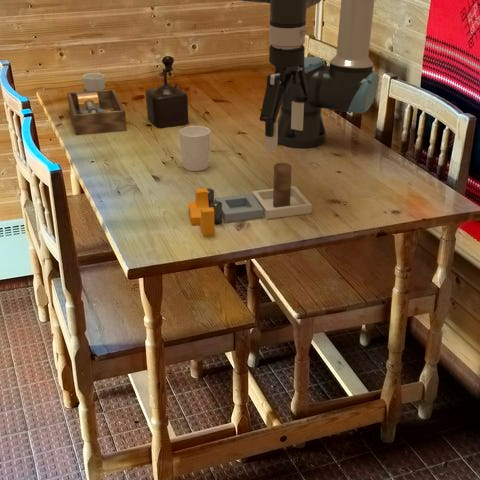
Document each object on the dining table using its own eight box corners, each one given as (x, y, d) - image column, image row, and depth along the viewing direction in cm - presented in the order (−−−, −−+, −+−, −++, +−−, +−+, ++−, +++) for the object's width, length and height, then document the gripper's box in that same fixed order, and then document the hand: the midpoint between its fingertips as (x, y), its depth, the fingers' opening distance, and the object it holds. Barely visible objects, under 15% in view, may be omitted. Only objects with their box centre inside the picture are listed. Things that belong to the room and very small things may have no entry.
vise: (71, 112, 232) (68, 92, 229) (103, 109, 235) (101, 89, 232) (79, 131, 217) (76, 109, 214) (113, 127, 220) (111, 106, 217)
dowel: (292, 203, 172) (294, 164, 167) (285, 210, 169) (286, 170, 164) (277, 200, 174) (278, 161, 169) (270, 206, 171) (271, 167, 166)
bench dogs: (212, 207, 172) (212, 187, 169) (223, 225, 164) (223, 205, 161) (201, 208, 171) (201, 189, 169) (212, 226, 163) (211, 206, 161)
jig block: (251, 203, 174) (251, 193, 173) (262, 219, 166) (263, 209, 165) (214, 207, 172) (214, 197, 170) (225, 224, 164) (225, 214, 163)
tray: (294, 195, 178) (295, 186, 176) (311, 215, 168) (311, 205, 167) (251, 201, 175) (252, 191, 174) (266, 221, 166) (266, 210, 164)
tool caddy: (115, 107, 237) (114, 89, 234) (126, 130, 217) (125, 111, 215) (69, 111, 233) (67, 92, 230) (75, 135, 214) (73, 115, 211)
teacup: (107, 93, 250) (106, 78, 247) (85, 95, 248) (83, 79, 245) (103, 85, 258) (102, 70, 255) (81, 87, 256) (80, 72, 253)
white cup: (184, 173, 189) (183, 137, 184) (178, 162, 196) (177, 127, 191) (213, 170, 191) (213, 134, 186) (206, 159, 198) (206, 124, 193)
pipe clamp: (188, 214, 169) (187, 189, 166) (207, 213, 169) (206, 188, 166) (194, 239, 158) (194, 212, 155) (214, 237, 159) (214, 211, 156)
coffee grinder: (191, 124, 223) (189, 65, 214) (157, 128, 219) (154, 69, 210) (174, 109, 235) (172, 53, 227) (141, 113, 231) (138, 57, 223)
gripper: (277, 61, 142) (275, 161, 153) (326, 33, 161) (321, 124, 172) (243, 56, 145) (243, 155, 156) (295, 30, 164) (292, 119, 175)
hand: (284, 139), depth 164 cm, fingers open, 13 cm apart
